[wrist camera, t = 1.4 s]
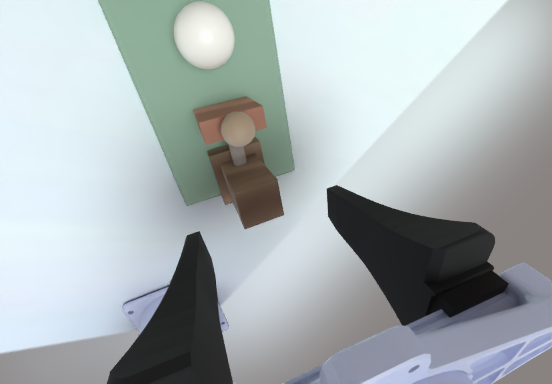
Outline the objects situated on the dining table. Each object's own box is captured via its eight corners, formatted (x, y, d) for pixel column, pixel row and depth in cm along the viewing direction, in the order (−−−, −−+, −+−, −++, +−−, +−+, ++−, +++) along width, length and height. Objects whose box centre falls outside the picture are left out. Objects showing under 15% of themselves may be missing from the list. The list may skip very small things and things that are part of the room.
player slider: (265, 183, 23) (293, 220, 18) (222, 198, 23) (239, 241, 17) (245, 92, 19) (273, 107, 14) (191, 105, 18) (201, 127, 13)
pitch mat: (292, 168, 25) (294, 170, 24) (186, 203, 22) (186, 206, 22) (246, -133, 15) (248, -138, 14) (47, -121, 12) (43, -127, 12)
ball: (234, 62, 18) (247, 64, 15) (184, 73, 18) (188, 77, 15) (220, 1, 17) (231, -10, 14) (163, 10, 16) (163, 2, 13)
